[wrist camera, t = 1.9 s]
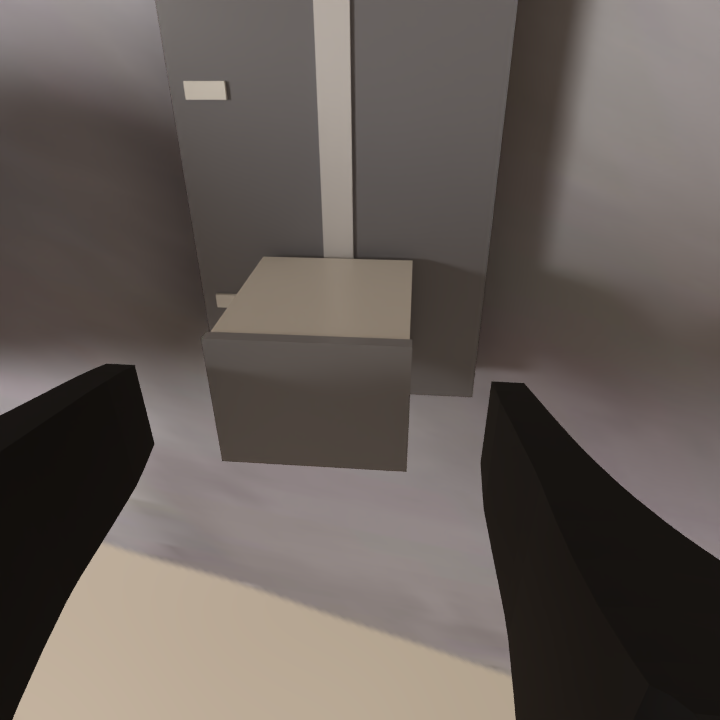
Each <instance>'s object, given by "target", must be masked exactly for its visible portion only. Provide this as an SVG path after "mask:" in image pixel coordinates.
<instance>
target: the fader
mask: <svg viewBox="0 0 720 720" xmlns="http://www.w3.org/2000/svg"><path fill="white" fill-rule="evenodd" d="M412 263H413V260H375V259H337V258H299V257H263V258H262V259H261V260H260V262H259V263H258V265H257V266H256V268H255V269H254V270H253V272H252V273H251V275H250V276H249V277H248V279H247V280H246V282H245V283H244V285H243V286H242V287H241V289H240V290H239V292H238V293H237V295H236V296H235V297H234V299H233V300H232V302H231V303H230V305H229V306H228V307H227V309H226V310H225V312H224V313H223V315H222V316H221V317H220V319H219V320H218V322H217V323H216V324H215V326H214V327H213V329H212V330H211V332H205V334H204V335H203V337H202V338H201V342H202V348H203V353H204V359H205V365H206V371H207V376H208V382H209V388H210V393H211V399H212V405H213V411H214V416H215V422H216V428H217V433H218V439H219V445H220V451H221V456H222V461H232V462H249V463H266V464H283V465H300V466H317V467H335V468H352V469H369V470H386V471H403V472H406V470H407V448H408V427H409V405H410V383H411V362H412V339H410V319H411V291H412Z"/></svg>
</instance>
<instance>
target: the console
mask: <svg viewBox="0 0 720 720" xmlns="http://www.w3.org/2000/svg"><path fill="white" fill-rule="evenodd" d="M155 3H156V9H157V15H158V21H159V27H160V33H161V39H162V45H163V51H164V58H165V64H166V70H167V76H168V82H169V88H170V94H171V100H172V106H173V112H174V118H175V124H176V130H177V137H178V143H179V149H180V155H181V161H182V167H183V173H184V179H185V185H186V191H187V197H188V203H189V209H190V216H191V222H192V228H193V234H194V240H195V246H196V252H197V258H198V264H199V270H200V276H201V282H202V288H203V294H204V301H205V307H206V313H207V319H208V325H209V331H210V332H211V330H212V329H213V327H214V326H215V324H216V323H217V322H218V320H219V319H220V317H221V316H222V315H223V313H224V312H225V310H226V309H227V307H228V306H229V305H230V303H231V302H232V300H233V299H234V297H235V296H236V295H237V293H238V292H239V290H240V289H241V287H242V286H243V285H244V283H245V282H246V280H247V279H248V277H249V276H250V275H251V273H252V272H253V270H254V269H255V268H256V266H257V265H258V263H259V262H260V260H261V259H262V258H263V257H299V258H337V259H375V260H413V263H412V291H411V319H410V339H412V362H411V383H410V394H416V395H438V396H459V397H472V394H473V385H474V377H475V368H476V359H477V351H478V342H479V333H480V325H481V316H482V307H483V299H484V290H485V282H486V273H487V264H488V256H489V247H490V238H491V230H492V221H493V212H494V204H495V195H496V186H497V178H498V169H499V160H500V152H501V143H502V135H503V126H504V117H505V109H506V100H507V91H508V83H509V74H510V65H511V57H512V48H513V39H514V31H515V22H516V13H517V5H518V0H155Z"/></svg>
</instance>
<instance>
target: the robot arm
mask: <svg viewBox="0 0 720 720" xmlns="http://www.w3.org/2000/svg"><path fill="white" fill-rule="evenodd" d="M153 446H154V440H153V436H152V432H151V428H150V424H149V420H148V416H147V412H146V408H145V404H144V400H143V396H142V392H141V388H140V384H139V380H138V376H137V372H136V368H135V365H121V364H105V365H102V366H100V367H97V368H95V369H92V370H90V371H88V372H86V373H83V374H81V375H79V376H77V377H75V378H73V379H71V380H69V381H67V382H65V383H63V384H61V385H59V386H57V387H55V388H53V389H51V390H49V391H47V392H45V393H44V394H42V395H40V396H38V397H36V398H34V399H32V400H30V401H28V402H26V403H24V404H22V405H20V406H18V407H16V408H14V409H12V410H10V411H8V412H6V413H4V414H2V415H0V720H12V719H13V717H14V714H15V712H16V709H17V707H18V705H19V702H20V700H21V698H22V695H23V693H24V691H25V689H26V687H27V684H28V682H29V680H30V678H31V675H32V673H33V671H34V669H35V667H36V664H37V662H38V660H39V658H40V655H41V653H42V651H43V649H44V647H45V645H46V643H47V640H48V638H49V636H50V634H51V632H52V630H53V628H54V626H55V624H56V622H57V620H58V618H59V616H60V614H61V612H62V610H63V608H64V606H65V603H66V601H67V600H68V598H69V596H70V594H71V592H72V591H73V589H74V587H75V585H76V584H77V581H78V580H79V578H80V577H81V575H82V574H83V572H84V570H85V569H86V567H87V565H88V564H89V562H90V561H91V559H92V557H93V556H94V554H95V553H96V551H97V549H98V548H99V546H100V545H101V543H102V541H103V540H104V538H105V537H106V535H107V533H108V532H109V530H110V529H111V527H112V525H113V524H114V522H115V521H116V519H117V517H118V516H119V514H120V512H121V511H122V509H123V507H124V506H125V504H126V502H127V501H128V499H129V497H130V496H131V494H132V492H133V491H134V489H135V487H136V486H137V483H138V481H139V479H140V477H141V475H142V472H143V470H144V468H145V466H146V463H147V461H148V458H149V456H150V453H151V451H152V449H153ZM481 477H482V492H483V505H484V512H485V518H486V523H487V528H488V533H489V539H490V544H491V549H492V554H493V559H494V564H495V569H496V574H497V579H498V584H499V589H500V594H501V599H502V604H503V609H504V614H505V621H506V627H507V634H508V641H509V651H510V662H511V672H512V682H513V692H514V704H515V716H516V720H720V560H719V559H717V558H716V557H714V556H713V555H711V554H710V553H708V552H707V551H705V550H704V549H702V548H701V547H700V546H698V545H697V544H695V543H694V542H692V541H691V540H689V539H688V538H687V537H685V536H684V535H682V534H681V533H680V532H678V531H677V530H676V529H674V528H673V527H672V526H670V525H669V524H668V523H666V522H665V521H664V520H662V519H661V518H660V517H659V516H657V515H656V514H655V513H654V512H652V511H651V510H650V509H649V508H647V507H646V506H645V505H644V504H642V503H641V502H640V501H639V500H637V499H636V498H635V497H634V496H633V495H631V494H630V493H629V492H628V491H627V490H626V489H624V488H623V487H622V486H621V485H620V484H619V483H618V482H617V481H616V480H614V479H613V478H612V477H611V476H610V475H609V474H608V473H607V472H606V471H605V470H604V469H603V468H602V467H600V466H599V465H598V464H597V463H596V462H595V461H594V460H593V459H592V458H591V457H590V456H589V455H588V454H587V453H586V452H585V451H584V450H583V449H582V448H581V447H580V446H579V445H578V444H577V443H576V441H575V440H574V439H573V438H572V437H571V436H570V435H569V434H568V433H567V432H566V431H565V430H564V429H563V427H562V426H561V425H560V424H559V423H558V422H557V421H556V420H555V418H554V417H553V416H552V415H551V414H550V413H549V412H548V410H547V409H546V408H545V407H544V406H543V405H542V403H541V402H540V401H539V400H538V399H537V398H536V396H535V395H534V394H533V393H532V392H531V391H530V390H529V388H528V387H527V386H526V385H525V384H524V383H510V382H492V383H491V390H490V398H489V405H488V412H487V420H486V427H485V435H484V442H483V449H482V457H481Z"/></svg>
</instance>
